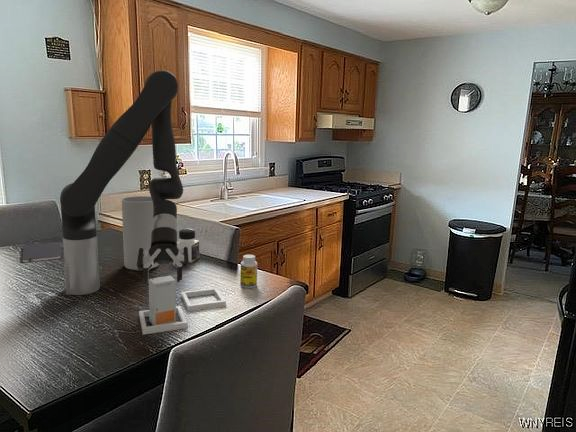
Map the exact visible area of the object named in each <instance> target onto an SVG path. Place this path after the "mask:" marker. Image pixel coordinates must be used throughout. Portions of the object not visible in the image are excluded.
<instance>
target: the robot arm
mask: <svg viewBox="0 0 576 432" xmlns="http://www.w3.org/2000/svg"><path fill="white" fill-rule="evenodd" d="M178 91H179V84H178V80H177V77H176V76H175V75H174V74H173V73H172V72H171V71H168V70H163V69H161V70H160V69H159V70H156V71H154V72H151V73H150V74H149V75H148V76H147V78H146V79H145V82H144V86H143V88H142V90H141V91H140V93H139V95H138V96H137V98H136V99H135V101H134V102H133V103H132V104H131V105H130V106H129V107H128V109H126V110H125V112H123V113H122V114H121V115H120V116H119V117H118V118H117V120H115V122H114V123H113V124H112V125H111V126H110V128H109V129H108V130H107V131H106V133H105V134H104V136H103V137H102V138H101V140H100V141H99V143H98V145H97V146H96V148H95V150H94V152H93V154H92V156H91V157H90V159H89V162H88V164H87V165H86V167H85V168H84V170H83V171H82V172H81V173H80V175H79V176H78V177H77V178H76V179H75V180H74V182H71V183H69V184H67V185H66V186H65V187H63V189H62V190H61V193H60V197H59V203H60V211H61V212H60V213H61V214H60V215H61V231H62V242H63V243H62V244H63V245H62V246H63V256H64V257H63V258H64V264H63V267H64V268H63V270H64V272H63V273H64V284H65V295H66V296H69V295H72V296H83V295H84V296H85V295H90V294H93V293H96V292H97V291H99V289H100V284H101V283H100V271H99V268H100V267H99V253H98V232H97V230H98V229H97V220H96V204H97V203H98V201H99V199H100V197H101V195H102V193H103V192H104V190H105V189H106V187H107V185H108V184H109V183H110V181H111V180H112V179H113V178H114V177H115V176H116V174H117V173H118V172H119V171H120V170H121V169H122V168H123V166H124V165H125V164H126V163H127V162H128V160H129V159H130V158H131V156H132V155H133V154H134V153H135V151H136V150H137V148H138V146H139V145H140V144H141V143H142V141H143V139H145V136H146V135H147V132H148V131H149V130H150V128H151V144H152V161H153V162H152V164H153V168H154V169H155V170H157V171H162V172H166V173H167V174H169V175H170V177H154V178H152V179H151V180H150V181H149V183H148V191H149V194H150V197H151V198H152V201H153V208H154V211H153V222H152V232H151V247H150V249H149V250H143V248H140V249H139V253H138V259H137V268H138V270H137V271H143V272H142V280H143V282H145V284H149V279H150V270H151V269H150V268H151V267H153V266H154V265H155V264H156V263H158V264H159V265H163V264H165V265H168V264H170V263H171V264H172V265H173V266H174V267H175V268H176V283H180V281H182V280H183V270H187V269H189V267H190V265H189V264H190V262H189V260H188V248H187V247H184V249H178V248H177V242H178V234H179V231H178V214H177V213H178V207H177V204H176V203H175V202H174V201H172V200H179V199H180V198H181V197H182V196H183V194H184V187H183V182H182V180H181V177H180V174H179V171H178V166H177V153H176V152H177V151H176V148H177V147H176V142H175V136H174V135H175V134H174V130H173V125H172V124H173V123H172V102H173V100H174V99H175V98H176V96H177V95H178ZM179 253H180V254H181V256H184V262H182V261H179V260H178V258H177V257H176V256H177V255H178V254H179ZM147 254H149V255H150V256H151V257H150V258H149V259H148V261H147V262H146V263H145V265H144V264H143V258H144V257H146V255H147Z"/></svg>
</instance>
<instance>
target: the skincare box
mask: <svg viewBox="0 0 576 432" xmlns="http://www.w3.org/2000/svg"><path fill="white" fill-rule="evenodd" d="M176 295H177V279H175V278H174V277H173V276H172V275H167V276H166V275H164V276H159V277H154V278H149V282H148V310H149V317H148V318H149V322H150V323H151V326H155V325H162V324H169V323H176V322H177V315H176V314H177V313H176V306H177V304H176V303H177V302H176V301H177V296H176Z"/></svg>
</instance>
